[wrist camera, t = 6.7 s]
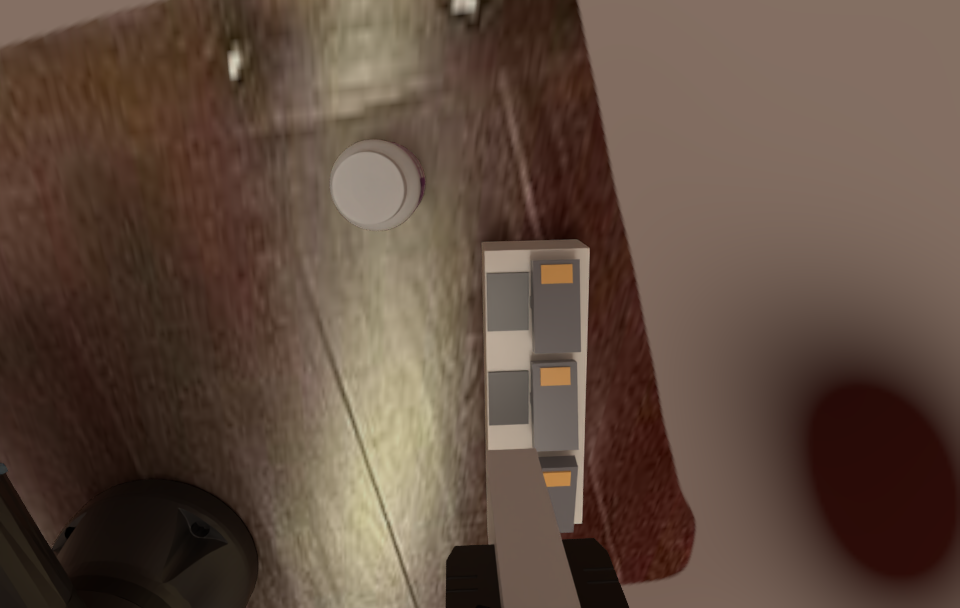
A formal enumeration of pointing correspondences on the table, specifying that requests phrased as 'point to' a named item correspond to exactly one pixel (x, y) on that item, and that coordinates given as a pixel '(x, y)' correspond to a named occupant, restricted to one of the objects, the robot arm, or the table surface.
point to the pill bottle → (377, 184)
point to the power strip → (524, 344)
